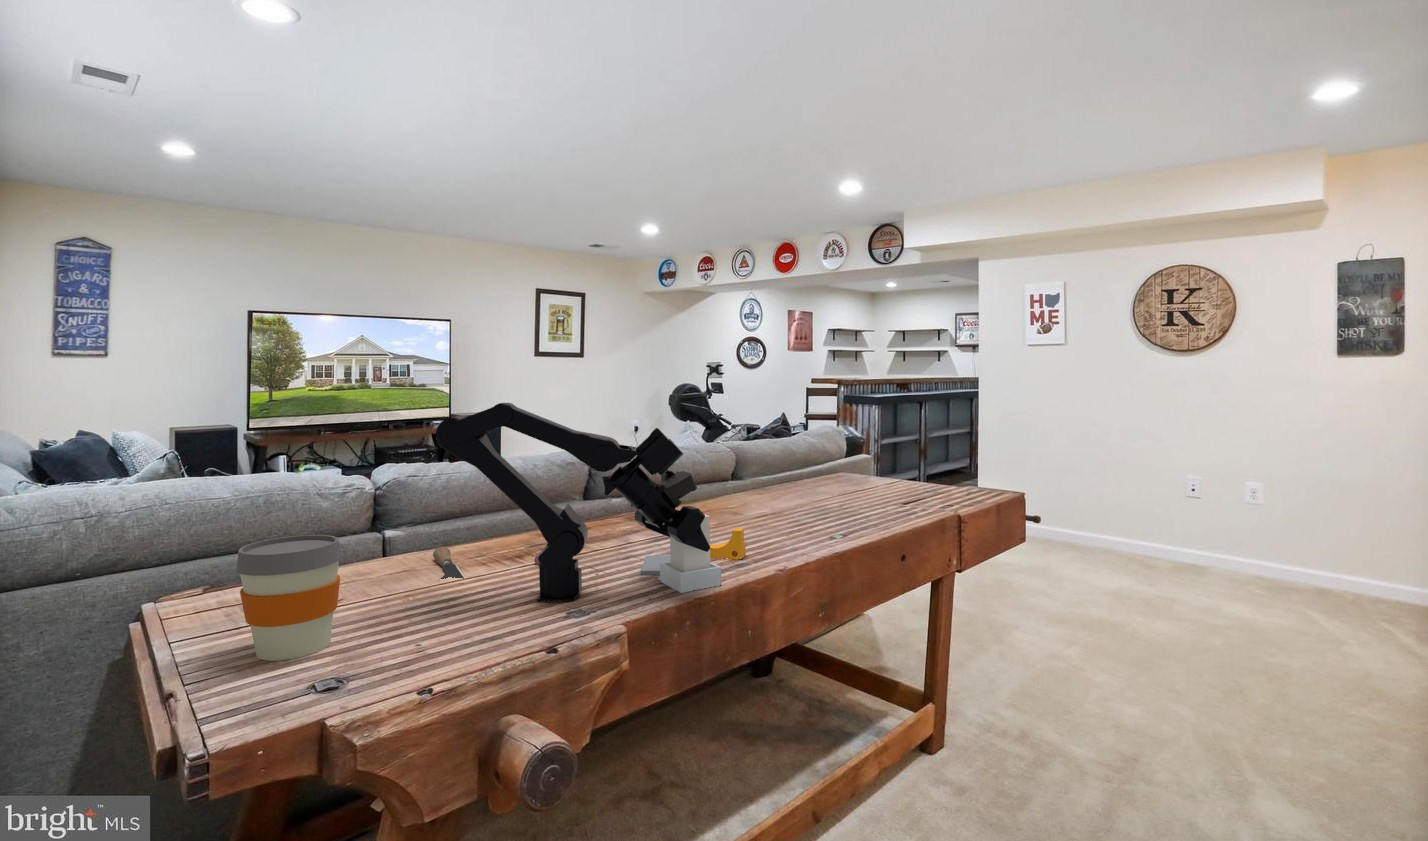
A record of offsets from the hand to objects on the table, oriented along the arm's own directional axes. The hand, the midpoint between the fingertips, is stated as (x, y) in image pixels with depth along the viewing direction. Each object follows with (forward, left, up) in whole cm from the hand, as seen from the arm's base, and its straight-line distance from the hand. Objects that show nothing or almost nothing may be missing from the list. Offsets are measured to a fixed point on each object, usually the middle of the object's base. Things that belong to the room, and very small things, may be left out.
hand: (696, 544), depth 124 cm
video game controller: (-31, +18, -7) cm, 37 cm away
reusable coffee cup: (-57, -30, -7) cm, 65 cm away
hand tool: (-50, +9, -8) cm, 52 cm away
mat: (-5, +11, -7) cm, 14 cm away
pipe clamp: (+4, +20, -8) cm, 21 cm away
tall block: (-1, -1, -7) cm, 7 cm away
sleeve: (-1, -1, -7) cm, 7 cm away
